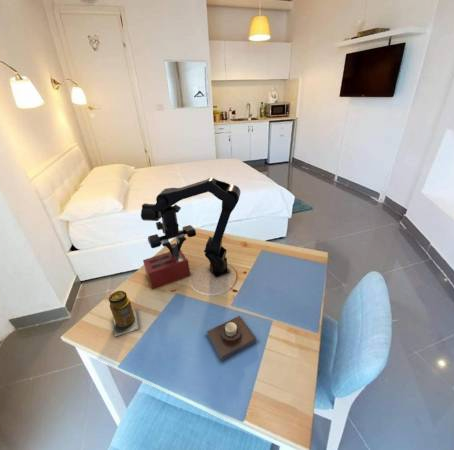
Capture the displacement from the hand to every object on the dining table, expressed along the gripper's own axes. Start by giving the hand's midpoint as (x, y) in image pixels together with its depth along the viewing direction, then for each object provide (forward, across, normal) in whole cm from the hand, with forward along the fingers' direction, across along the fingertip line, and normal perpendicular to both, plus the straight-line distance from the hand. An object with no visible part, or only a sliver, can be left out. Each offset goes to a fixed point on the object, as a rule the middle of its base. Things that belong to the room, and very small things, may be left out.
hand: (175, 252), depth 107 cm
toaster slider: (0, 0, 0) cm, 0 cm away
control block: (+8, -3, +43) cm, 44 cm away
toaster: (+8, +5, +2) cm, 10 cm away
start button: (+5, -3, +43) cm, 44 cm away
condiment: (+8, +25, +19) cm, 33 cm away
